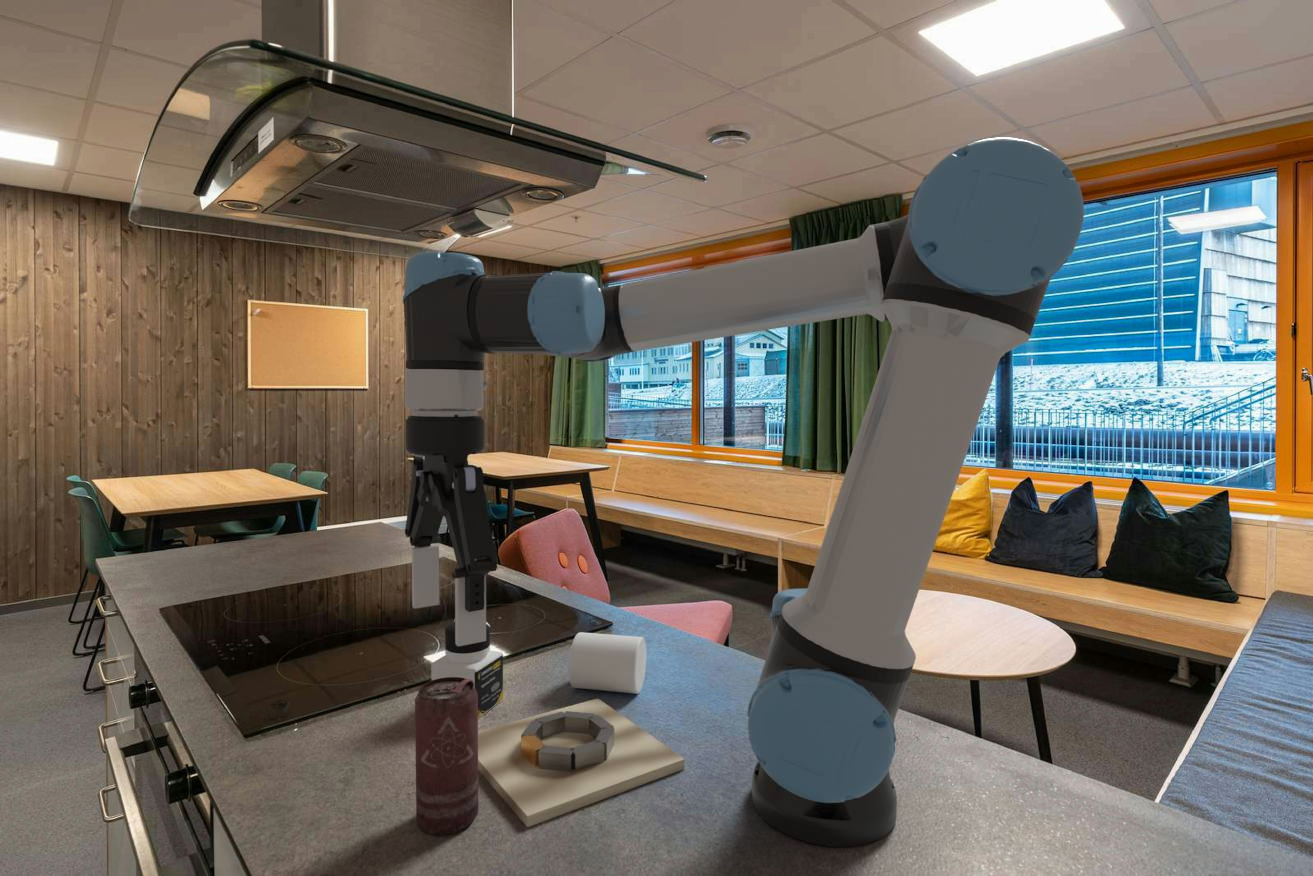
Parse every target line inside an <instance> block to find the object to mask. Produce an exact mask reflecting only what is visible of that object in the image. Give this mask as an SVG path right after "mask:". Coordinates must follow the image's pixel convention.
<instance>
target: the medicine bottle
mask: <svg viewBox="0 0 1313 876" xmlns="http://www.w3.org/2000/svg"><path fill="white" fill-rule="evenodd" d="M444 647H445V648H444V650H445V651H444V654H445V655H443V656H441V657H439V659H437V660H435V661H433V662H432V663H431V665H430V667H431V669H430V671H431V672H430V673H431V680H430V681H432V680H435V679H439V678H446V677H460V678H465V679H467V678H468V679H471V680H473V682H474V687H475V689H476V691H477V693H478V720H479V719H480V718H482V717H483V716H484V715H485V714H487V713H488V712H489V711H491V710H492V709H493V708H495V707H496V706H497V705H498V704H500V703H501V702H502V701H504V653H503V652H502V651H497V650H491V625H490V624H489V623H488V622H487V621H486V641H483V642H478V643H473V644H468V645H463V646H457V645H456V644H455V621H453V622H451V623H448V625H447V626H446V627H445V629H444Z"/></svg>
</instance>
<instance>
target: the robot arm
mask: <svg viewBox="0 0 1313 876" xmlns="http://www.w3.org/2000/svg"><path fill="white" fill-rule="evenodd" d="M908 209H909V210H908V214H906V215H905V216H902V217H899V218H896V219H893V220H889V221H885V222H880V223H875V224H870V225H868V227H866V229H865V231H864V232H863V233H862V234H861V235H860V236H858V237H857V238H853V239H847V240H842V241H837V242H833V243H832V242H831V243H827V244H822V245H816V246H811V247H807V248H801V249H796V250H791V251H786V252H785V251H784V252H782V253H776V254H770V255H764V256H760V257H756V258H755V257H754V258H750V259H744V260H739V261H734V262H733V261H732V262H729V263H728V262H727V263H725V264H718V265H714V266H708V267H703V268H697V269H692V270H687V271H682V272H678V273H672V274H665V275H660V276H657V277H652V278H647V279H642V280H641V279H640V280H635V281H631V282H630V281H629V282H626V283H623V284H619V285H610V286H606V287H601V288H600V287H598V283H597V280H596V279H595V278H594V277H592V276H591V275H590V274H588V273H583V272H582V273H581V272H564V271H561V270H557V271H556V270H552V271H551V272H544V273H543V272H541V273H523V274H521V273H519V274H499V275H496V274H495V275H494V274H493V275H491V274H490V275H487V274H486V273H485V270H484V269H485V268H484V264H483V262H482V261H481V260H480V259H479V258H478V257H476V256H474V255H470V254H466V253H459V252H453V251H451V252H441V251H426V252H419V253H416V254H414V255H412V256H411V257H409V259H408V260H407V261H406V265H405V275H404V276H405V279H404V294H403V297H402V304H403V311H404V312H403V315H404V333H405V368H404V408H405V410H406V411H407V410H408V411H411V413H410V414H411V415H408V416H407V418H406V419H405V449H406V451H407V452H408V453H409V454H412V455H417V456H414V457H413V461H412V480H411V486H410V487H411V488H410V494H409V501H408V507H407V515H406V523H405V528H404V534H405V537H406V538H409V543H410V545H411V585H412V586H411V590H412V591H411V593H412V594H411V596H412V599H411V603H412V608H413V609H420V608H421V609H422V608H426V607H427V608H428V607H433V606H440V546H439V545H437V544H441V543H443V542H442V538H441V535H440V533H439V531H440V528H441V525H442V522H443V519H444V518H445V521H446V525H447V530H448V533H449V538H450V542H451V545H452V549H453V553H454V557H455V560H456V564H457V565H456V566H457V568H454V570H453V572H452V574H451V577H452V578H453V579H454V589H455V590H454V618H455V619H454V620H455V621H454V622H455V644H456V645H457V646H463V645H468V644H473V643H478V642H483V641H486V622H487V575H488V574H489V573H490V572H491V573H492V572H496V571H497V568H498V563H497V557H496V552H495V546H494V545H495V544H494V542H493V541H494V540H493V535H492V530H491V525H490V519H489V513H488V507H487V502H486V496H485V495H486V494H485V490H484V471H483V468H482V467H481V466H473V467H470V466H469V460H468V458H469V457H468V456H470V455H475V454H479V453H482V452H483V451H484V449H485V419H484V418H483V417H482V416H480V415H478V411H482V410H483V409H484V398H485V397H484V396H485V394H484V390H487V388H488V386H489V385H488V384H489V383H488V382H487V381H486V380H484V378H485V377H484V376H485V375H484V370H485V354H491V355H492V354H494V355H495V354H521V355H523V354H526V355H529V354H531V355H534V354H535V355H544V356H551V357H552V356H553V357H562V358H568V359H569V358H570V359H575V360H576V359H577V360H580V361H583V362H588V363H596V362H603V361H608V360H610V359H612V358H615V357H616V356H620V355H626V354H629V353H633V352H640V351H647V350H651V349H652V350H653V349H659V348H664V347H665V348H666V347H670V346H672V347H673V346H676V345H684V344H689V343H696V342H701V341H708V340H713V339H714V340H715V339H720V338H726V337H731V336H732V337H733V336H737V335H738V336H739V335H744V334H750V333H756V332H764V331H769V330H774V329H775V330H776V329H780V328H781V329H782V328H787V327H795V326H801V325H806V324H813V323H818V322H825V321H830V320H831V321H832V320H837V319H843V318H849V317H854V316H862V315H870V316H872V317H874V318H875V319H876V320H877V321H879V322H881V323H882V322H887V321H888V322H889V324H890V325H891V333H890V336H889V338H888V342H887V345H886V348H885V352H884V354H883V357H882V360H881V364H880V367H879V369H878V372H877V375H876V378H875V382H874V385H873V387H872V391H871V394H870V397H869V400H868V403H867V406H866V409H865V413H864V415H863V419H862V422H861V424H860V427H859V430H858V434H857V436H856V439H855V442H854V446H853V448H852V449H853V450H852V452H851V455H850V458H849V461H848V464H847V466H846V470H845V474H844V476H843V480H842V482H841V486H840V489H839V491H838V494H837V496H836V497H837V498H836V501H835V504H834V507H833V510H832V513H831V516H830V518H829V522H828V525H827V528H826V532H825V534H824V538H823V540H822V544H821V547H820V549H819V552H818V556H817V559H816V561H815V562H816V563H815V565H814V568H813V571H812V573H811V577H810V580H809V583H808V586H807V588H789V589H784V590H783V589H782V590H781V591H779V592H777V593H776V594H775V595H774V597H773V599H772V607H771V611H770V612H769V618H770V619H771V634H770V635H771V637H770V645H769V649H768V652H767V655H766V658H765V660H764V664H763V667H762V670H761V673H760V676H759V680H758V682H757V685H756V688H755V690H754V692H753V693H752V695H751V697H750V701H749V703H748V707H747V718H748V719H747V732H748V733H747V734H748V740H749V743H750V747H751V749H752V752H753V755H754V756H755V757H756V759H757V763H756V765H755V766H754V769H753V773H752V778H751V802H752V804H753V807H754V809H755V811H756V812H757V814H758V815H759V816H760V817H761V818H762V819H763V820H764V822H766V823H767V824H769V826H771V827H773V828H774V829H776V830H777V831H779V832H781V833H783V834H784V835H787V836H789V837H791V838H794V839H797V840H800V841H803V842H806V843H810V844H814V845H815V844H816V845H821V846H825V847H827V846H828V847H845V848H846V847H856V846H862V845H866V844H870V843H873V842H876V841H878V840H880V839H882V838H884V837H885V836H886V835H888V834H889V833H890V832H891V831H892V830H893V828H894V826H895V825H896V821H897V810H898V809H897V808H898V806H897V805H898V797H897V790H896V787H895V785H894V781H893V780H892V779H891V774H890V768H891V765H892V762H893V758H894V756H895V752H896V743H897V736H896V735H897V734H896V729H895V720H896V716H897V713H898V712H899V711H898V710H899V707H900V706H901V701H902V700H903V696H904V693H905V692H906V691H905V690H906V687H907V685H908V682H909V680H910V676H911V674H912V673H911V672H912V671H913V668H914V664H915V662H916V658H917V657H916V653H915V650H914V649H913V646H912V645H911V643H910V641H909V639H908V637H907V635H906V629H907V625H908V622H909V620H910V616H911V614H912V611H913V608H914V606H915V602H916V600H917V598H918V594H919V591H920V588H921V586H922V583H923V579H924V577H925V575H926V571H927V568H928V565H929V562H930V560H931V557H932V554H933V551H934V548H935V546H936V543H937V539H938V536H939V534H940V531H941V528H942V525H943V522H944V519H945V517H946V514H947V511H948V508H949V506H950V502H951V499H952V497H953V495H954V491H955V488H956V485H957V483H958V479H959V477H960V474H961V471H962V468H963V466H964V463H965V460H966V456H967V454H968V451H969V448H970V445H971V443H972V439H973V437H974V434H975V431H976V428H977V425H978V422H979V419H980V417H981V414H982V411H983V408H984V405H985V404H986V403H985V402H986V399H987V396H988V394H989V391H990V389H991V385H992V382H993V379H994V377H995V374H996V371H997V367H998V365H999V363H1000V359H1001V358H1002V357H1003V356H1005V354H1006V353H1008V352H1010V351H1012V350H1014V349H1016V348H1018V347H1019V346H1022V345H1024V344H1025V343H1028V342H1029V340H1030V338H1031V334H1032V332H1033V328H1034V326H1035V323H1036V321H1037V318H1038V315H1039V312H1040V310H1041V307H1042V305H1043V301H1044V299H1045V296H1046V293H1047V289H1048V288H1049V285H1050V281H1051V278H1052V277H1054V276H1055V275H1056V273H1058V272H1059V271H1060V270H1061V268H1062V267H1063V266H1064V265H1065V264H1066V263H1067V262H1068V260H1069V257H1071V255H1072V254H1073V252H1074V251H1075V247H1076V245H1077V243H1078V241H1079V238H1080V235H1081V232H1082V228H1083V224H1084V217H1085V216H1084V215H1085V213H1084V212H1085V206H1084V197H1083V194H1082V189H1081V187H1080V184H1079V182H1078V180H1077V179H1076V178H1075V176H1074V174H1073V171H1072V170H1071V169H1070V168H1069V167H1068V165H1067V164H1066V163H1065V161H1063V159H1061V157H1059V156H1058V155H1057V154H1055V153H1054V152H1053V151H1052V150H1049V149H1048V148H1046V147H1044V146H1042V145H1041V144H1038V143H1036V142H1032V141H1029V140H1025V139H1020V138H1014V137H993V138H985V139H981V140H978V141H977V140H976V141H974V142H971V143H969V144H966V145H964V146H961V147H959V148H957V149H956V150H954V151H953V152H950V153H949V154H947V156H945V157H944V158H942V159H941V160H940V161H939V162H938V163H936V165H935V166H934V167H933V168H932V169H931V170H930V171H929V173H928V174H926V176H925V177H923V179H922V181H921V183H920V184H919V185H918V186H917V187H916V189H915V191H914V193H913V196H912V199H911V202H910V205H909V208H908Z"/></svg>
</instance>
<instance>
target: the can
mask: <svg viewBox="0 0 1313 876" xmlns="http://www.w3.org/2000/svg"><path fill="white" fill-rule="evenodd" d="M417 691H418V692H417V695H416V696H415V699H414V719H415V720H414V723H415V725H414V727H415V728H414V730H415V731H414V732H415V734H414V736H415V738H414V739H415V806H416V807H415V812H416V823H417V825H418V826H419V827H420V829H422V830H423V832H425V833H428V834H429V835H435V836H448V835H452V834H456V833H459V832H462V831H463V830H465V829H466V828H468V827H470V826H471V824H472V823H473V822H474V821H475V819H476V818H477V815H478V812H479V770H478V731H479V719H478V693H477V691H476V689H475V687H474V682H473V680H471V679H468V678H467V679H465V678H460V677H446V678H439V679H435V680H430V681H428V682H425V683H423V684H422V685H421V686H420V687H419V689H418V690H417Z"/></svg>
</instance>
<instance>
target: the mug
mask: <svg viewBox="0 0 1313 876" xmlns="http://www.w3.org/2000/svg"><path fill="white" fill-rule="evenodd" d="M647 653H648V652H647V644H646V640H645V637H643V636H632V635H621V634H619V635H618V634H608V633H607V634H606V633H594V632H582V631H579V632H578V633H577V634H575V636H574V638H573V640H572V643H571V646H570V650H569V657H568V681H569V684H570V686H571V687H572V688H574V689H585V690H593V691H603V692H604V691H605V692H614V693H615V692H616V693H624V694H625V693H626V694H636V695H637V694H639V693H640V692H641V691H642V689H643V686H644V682H645V677H646V672H647V671H646V669H647V656H648V655H647Z"/></svg>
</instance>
